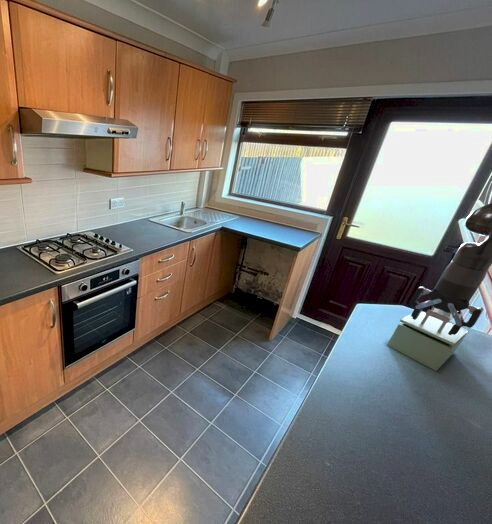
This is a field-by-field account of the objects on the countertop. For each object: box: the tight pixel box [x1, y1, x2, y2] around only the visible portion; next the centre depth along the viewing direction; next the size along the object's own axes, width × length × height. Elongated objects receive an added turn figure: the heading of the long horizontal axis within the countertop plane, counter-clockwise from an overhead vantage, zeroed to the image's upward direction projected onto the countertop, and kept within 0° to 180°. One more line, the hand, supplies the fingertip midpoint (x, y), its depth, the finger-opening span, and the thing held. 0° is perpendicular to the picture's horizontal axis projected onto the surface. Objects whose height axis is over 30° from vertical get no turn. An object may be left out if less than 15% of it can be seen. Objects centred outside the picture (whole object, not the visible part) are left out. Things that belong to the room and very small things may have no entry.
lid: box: [399, 309, 470, 346], centre depth 87 cm, size 16×13×6 cm
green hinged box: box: [386, 322, 468, 372], centre depth 91 cm, size 16×13×9 cm
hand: (431, 326), depth 86 cm, fingers open, 8 cm apart
